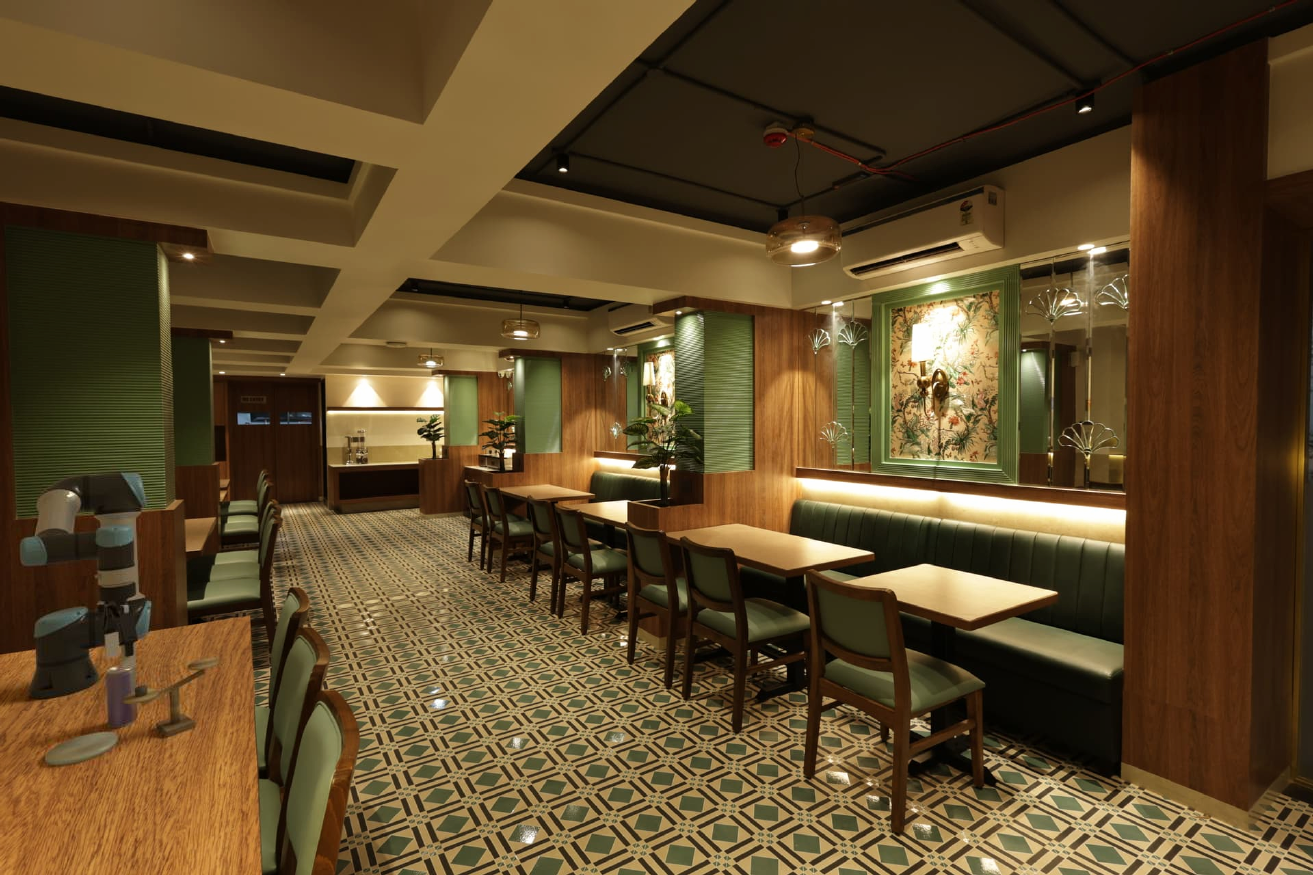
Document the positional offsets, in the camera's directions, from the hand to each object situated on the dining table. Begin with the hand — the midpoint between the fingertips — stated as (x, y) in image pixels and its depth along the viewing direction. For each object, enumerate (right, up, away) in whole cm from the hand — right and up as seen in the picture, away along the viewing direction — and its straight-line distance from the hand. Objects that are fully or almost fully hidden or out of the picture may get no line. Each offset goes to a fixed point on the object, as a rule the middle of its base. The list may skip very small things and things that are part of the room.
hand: (120, 662), depth 162 cm
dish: (+2, -17, -12) cm, 21 cm away
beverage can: (0, -17, +1) cm, 17 cm away
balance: (+16, -17, -2) cm, 23 cm away
